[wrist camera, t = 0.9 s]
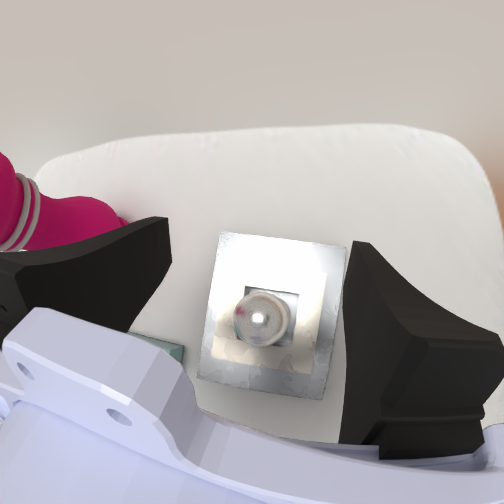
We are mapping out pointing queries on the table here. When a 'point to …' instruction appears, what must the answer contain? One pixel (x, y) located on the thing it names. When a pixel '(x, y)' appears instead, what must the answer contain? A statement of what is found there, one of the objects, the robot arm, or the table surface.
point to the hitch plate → (298, 300)
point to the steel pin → (261, 319)
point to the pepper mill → (46, 215)
